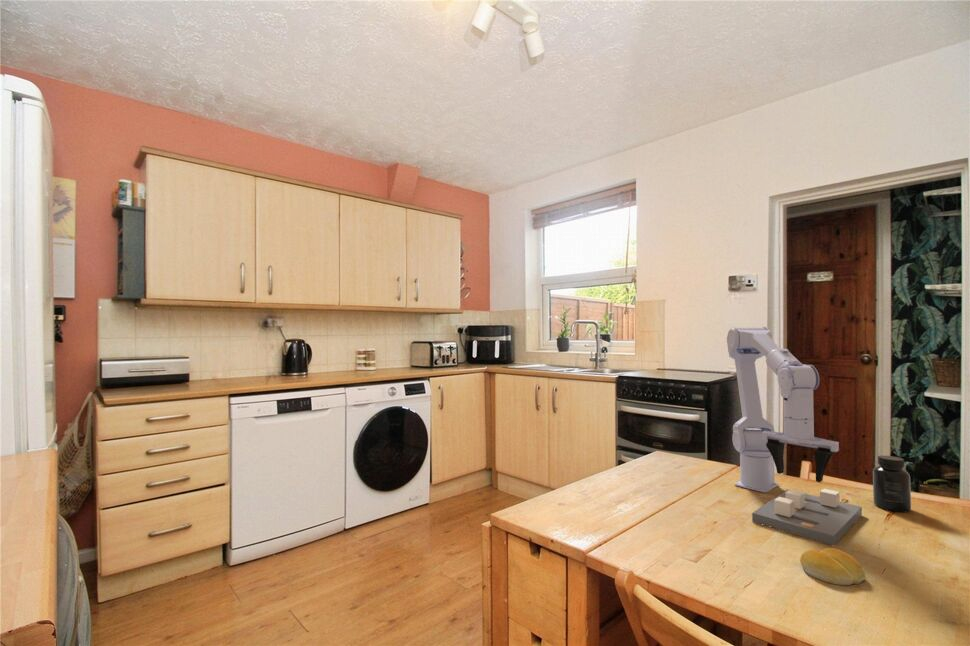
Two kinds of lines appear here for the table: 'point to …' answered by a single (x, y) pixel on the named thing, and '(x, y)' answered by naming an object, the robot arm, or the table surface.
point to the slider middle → (796, 498)
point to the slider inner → (829, 498)
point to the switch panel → (811, 519)
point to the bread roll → (832, 566)
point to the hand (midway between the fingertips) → (799, 476)
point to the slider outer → (784, 506)
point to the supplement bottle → (891, 485)
